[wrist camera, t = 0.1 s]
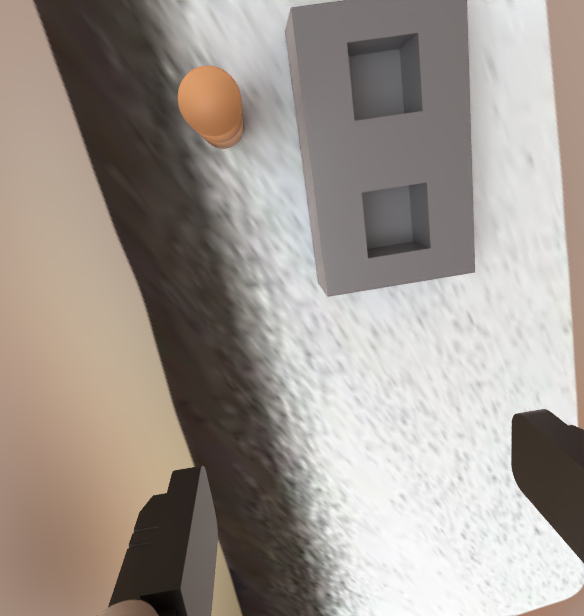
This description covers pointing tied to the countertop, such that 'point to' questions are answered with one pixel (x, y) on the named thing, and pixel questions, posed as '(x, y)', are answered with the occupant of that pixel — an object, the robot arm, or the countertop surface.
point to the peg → (212, 105)
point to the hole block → (384, 139)
